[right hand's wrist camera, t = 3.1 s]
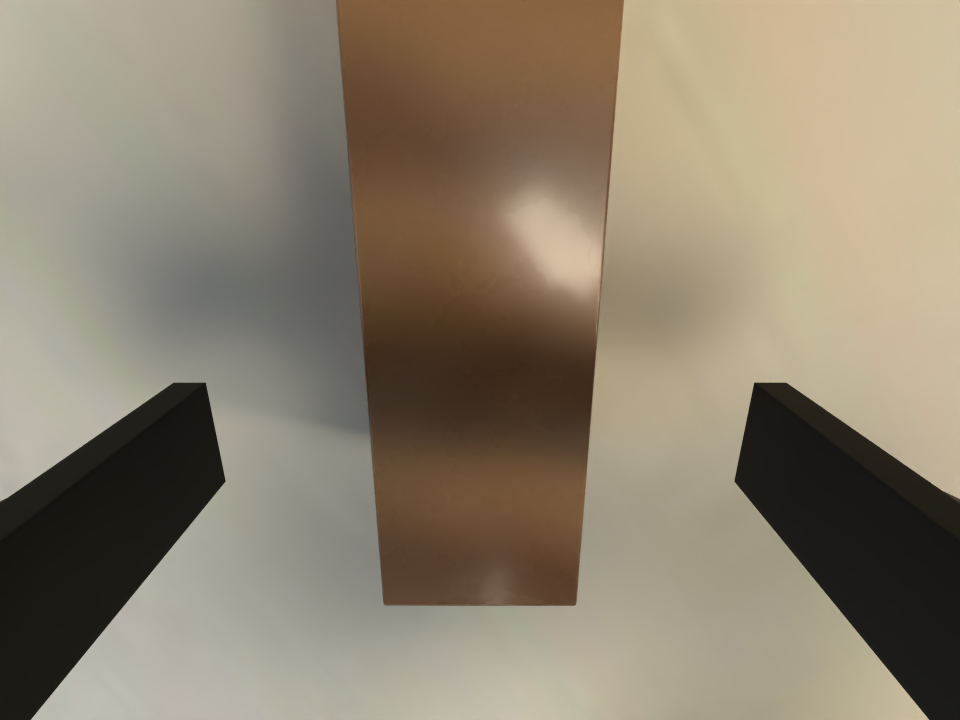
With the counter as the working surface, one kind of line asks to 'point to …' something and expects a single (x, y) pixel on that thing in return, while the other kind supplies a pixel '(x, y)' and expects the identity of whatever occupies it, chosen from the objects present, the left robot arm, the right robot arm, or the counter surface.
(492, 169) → the post
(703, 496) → the counter surface
